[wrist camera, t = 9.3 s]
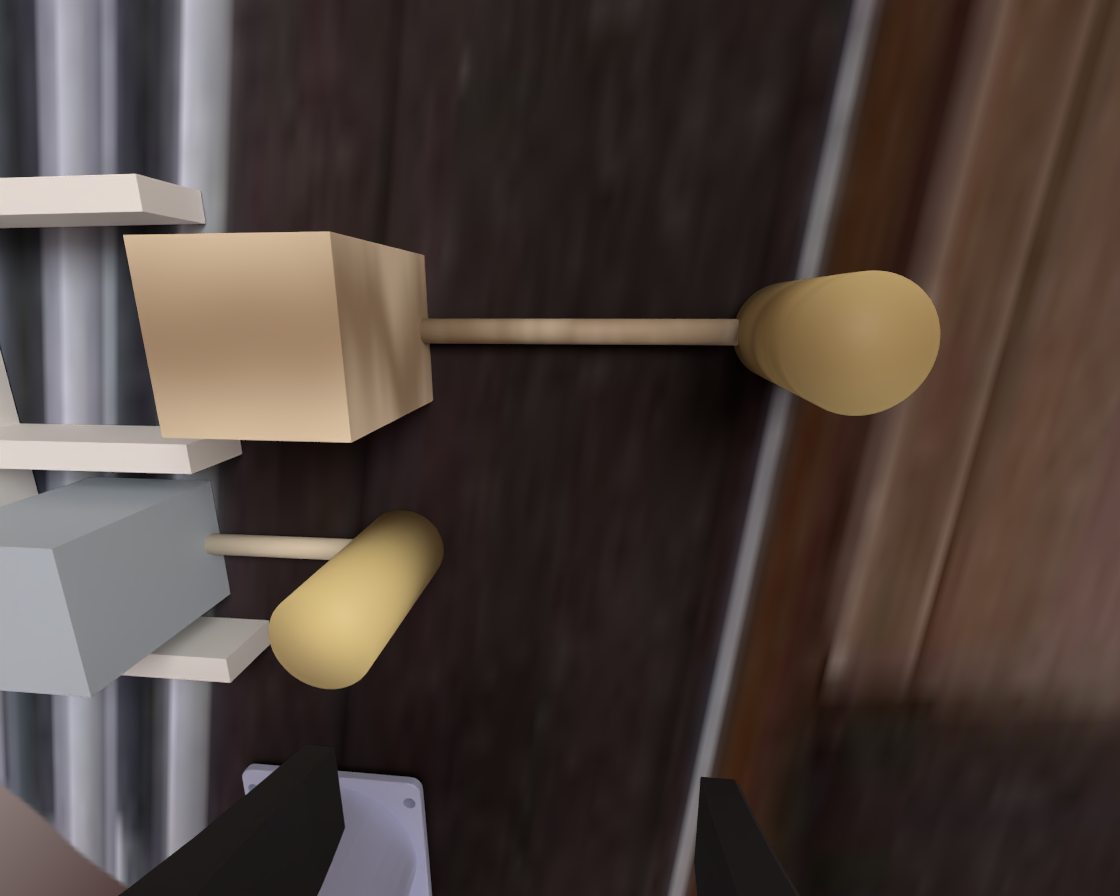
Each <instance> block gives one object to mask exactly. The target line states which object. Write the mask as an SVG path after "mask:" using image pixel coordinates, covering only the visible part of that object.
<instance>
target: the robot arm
mask: <svg viewBox="0 0 1120 896" xmlns="http://www.w3.org/2000/svg"><path fill="white" fill-rule="evenodd" d="M242 779H243V785H244V790H245V796H244V797H243V798H241V799H240V800H239V801H238V802H237V803H235V804H234V805H233V806H232V807H231V808H229V809H228V810H227V811H226V812H225V813H223V814H222V815H221V816H220V817H218V818H217V819H216V820H215V821H214V822H212V823H211V824H210V825H209V826H208V827H206V828H205V829H204V830H203V831H202V832H200V833H199V834H198V835H197V836H195V837H194V838H193V839H192V840H190V841H189V842H188V843H186V844H185V845H184V846H183V847H181V848H180V849H179V850H177V851H176V852H175V853H174V854H172V855H171V856H170V857H168V858H167V859H166V860H165V861H163V862H162V863H161V864H159V865H158V866H157V867H155V868H154V869H153V870H152V871H150V872H149V873H148V874H146V875H145V876H144V877H143V878H141V879H140V880H139V881H137V882H136V883H135V884H134V885H132V886H131V887H130V888H128V889H127V890H125V891H124V892H123V893H121V894H120V895H119V896H432V888H431V876H430V865H429V853H428V841H427V830H426V818H425V806H424V795H423V786H422V784H421V783H420V781H419V780H417V779H416V778H412V777H403V776H392V775H380V774H369V773H357V772H346V771H338V770H337V762H336V755H335V747H331V746H318V745H305V746H303V747H302V748H301V749H300V750H298V751H297V752H296V753H295V754H294V755H292V756H291V757H290V758H289V759H288V760H286V761H285V762H284V763H283V764H282V765H280V766H277V765H265V764H251V765H249V766H248V767H247V769H246V770H245V771H244V773H243V774H242ZM409 798H410V799H409ZM411 799H412V800H411ZM694 864H695V874H696V885H697V895H698V896H800V895H799V894H798V892H797V890H796V889H795V887H794V885H793V884H792V882H791V881H790V879H789V877H788V876H787V874H786V872H785V870H784V869H783V867H782V865H781V863H780V862H779V860H778V858H777V856H776V855H775V853H774V851H773V849H772V847H771V846H770V844H769V842H768V840H767V838H766V837H765V835H764V833H763V831H762V829H761V827H760V825H759V823H758V822H757V820H756V818H755V816H754V814H753V812H752V810H751V808H750V806H749V804H748V802H747V800H746V798H745V796H744V794H743V791H742V789H741V787H740V785H739V784H738V783H737V782H736V781H735V780H732V779H720V778H708V777H701V780H700V794H699V807H698V820H697V833H696V846H695V860H694Z"/></svg>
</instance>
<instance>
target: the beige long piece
mask: <svg viewBox="0 0 1120 896" xmlns="http://www.w3.org/2000/svg"><path fill="white" fill-rule="evenodd" d="M123 238H124V243H125V248H126V253H127V258H128V263H129V269H130V274H131V279H132V284H133V289H134V294H135V300H136V305H137V310H138V315H139V320H140V325H141V331H142V336H143V341H144V346H145V351H146V356H147V362H148V367H149V372H150V377H151V382H152V387H153V393H154V398H155V403H156V408H157V413H158V418H159V424H160V429H161V434H162V438H191V439H229V440H267V441H306V442H344V443H352V442H354V441H356V440H358V439H359V438H361V437H363V436H365V435H367V434H369V433H371V432H373V431H375V430H377V429H379V428H381V427H383V426H385V425H387V424H389V423H391V422H393V421H395V420H396V419H398V418H400V417H402V416H404V415H406V414H408V413H410V412H412V411H414V410H416V409H418V408H420V407H422V406H424V405H426V404H428V403H430V402H431V401H433V392H432V376H431V359H430V343H442V344H599V345H734V348H735V351H736V354H737V356H738V358H739V359H740V361H741V362H742V363H743V365H744V366H745V367H746V368H748V369H749V370H750V371H752V372H753V373H755V374H757V375H759V376H761V377H763V378H765V379H767V380H769V381H770V382H772V383H774V384H776V385H778V386H780V387H782V388H784V389H786V390H788V391H790V392H792V393H794V394H796V395H798V396H800V397H802V398H804V399H806V400H808V401H810V402H812V403H814V404H815V405H817V406H819V407H821V408H823V409H825V410H828V411H830V412H833V413H837V414H842V415H851V416H859V415H868V414H873V413H877V412H880V411H883V410H886V409H888V408H891V407H893V406H894V405H896V404H898V403H900V402H901V401H903V400H904V399H906V398H907V397H908V396H910V395H911V394H912V393H913V392H914V391H915V390H916V389H917V388H918V387H919V386H920V385H921V384H922V382H923V381H924V380H925V378H926V377H927V375H928V374H929V372H930V370H931V368H932V366H933V365H934V362H935V359H936V357H937V353H938V349H939V344H940V324H939V319H938V315H937V312H936V309H935V307H934V305H933V303H932V301H931V300H930V298H929V297H928V296H927V294H926V293H925V292H924V291H923V290H922V289H921V288H920V287H919V286H918V285H916V284H915V283H914V282H912V281H911V280H909V279H907V278H905V277H903V276H901V275H898V274H895V273H891V272H886V271H874V270H873V271H861V272H854V273H847V274H839V275H832V276H825V277H818V278H810V279H803V280H796V281H788V282H781V283H776V284H772V285H769V286H766V287H764V288H762V289H760V290H759V291H757V292H755V293H754V294H753V295H752V296H750V297H749V298H748V299H747V301H746V302H745V303H744V304H743V305H742V307H741V308H740V310H739V312H738V314H737V316H736V319H428V311H427V294H426V278H425V262H424V255H421V254H417V253H413V252H409V251H405V250H401V249H397V248H393V247H389V246H385V245H381V244H377V243H373V242H369V241H365V240H361V239H357V238H353V237H349V236H345V235H341V234H337V233H333V232H274V233H211V234H147V235H123Z"/></svg>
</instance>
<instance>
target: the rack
mask: <svg viewBox="0 0 1120 896" xmlns="http://www.w3.org/2000/svg"><path fill="white" fill-rule="evenodd" d="M170 224H206V223H205V217H204V211H203V204H202V198H201V192H200V191H198V190H194V189H190V188H186V187H183V186H179V185H175V184H172V183H168V182H164V181H161V180H157V179H153V178H149V177H146V176H142V175H138V174H113V175H82V176H51V177H20V178H0V228H31V227H78V226H124V225H170ZM241 454H242V449H241V442H240V440H229V439H191V438H162V434H161V429H160V426H123V425H72V424H21V423H19V419H18V415H17V411H16V408H15V404H14V400H13V396H12V392H11V389H10V385H9V381H8V377H7V374H6V370H5V366H4V362H3V358H2V355H1V351H0V507H1V506H5V505H8V504H11V503H14V502H17V501H20V500H23V499H26V498H29V497H32V496H35V495H38V491H37V487H36V483H35V480H34V476H33V472H32V469H33V470H68V471H102V472H136V473H170V474H193V473H196V472H198V471H201V470H203V469H206V468H208V467H211V466H213V465H216V464H218V463H221V462H223V461H226V460H228V459H231V458H233V457H236V456H238V455H241ZM269 645H270V640H269V620H253V619H236V618H219V617H201V616H200V617H199V618H197V619H196V620H195V621H193V622H192V623H191V624H189V625H188V626H187V627H185V628H184V629H183V630H181V631H180V632H179V633H177V634H176V635H175V636H173V637H172V638H170V639H169V640H168V641H166V642H165V643H164V644H162V645H161V646H160V647H158V648H157V649H156V650H154V651H153V652H152V653H150V654H149V655H148V656H146V657H145V658H144V659H142V660H141V661H140V662H138V663H137V664H135V665H134V666H133V667H131V668H130V669H129V670H127V671H126V672H125V673H123V674H122V675H127V676H141V677H155V678H169V679H183V680H197V681H212V682H226V683H231V682H232V681H233V680H234V679H235V678H236V677H237V676H238V675H239V674H240V673H241V672H242V671H243V670H244V669H245V668H246V667H247V666H248V665H249V664H250V663H251V662H252V661H253V660H254V659H255V658H256V657H257V656H259V655H260V654H261V653H262V652H263V651H264V650H265V649H266V648H267V647H268V646H269Z"/></svg>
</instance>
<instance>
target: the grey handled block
mask: <svg viewBox="0 0 1120 896" xmlns="http://www.w3.org/2000/svg"><path fill="white" fill-rule="evenodd" d="M224 555H234V556H255V557H277V558H298V559H320V560H329V561H328V562H327V563H326V564H325V565H324V566H322V567H321V568H320V569H319V570H318V571H317V572H316V573H315V574H313V575H312V576H311V577H310V578H309V579H308V580H307V581H305V582H304V583H303V584H302V585H301V586H300V587H299V588H297V589H296V590H295V591H294V592H293V593H292V594H291V595H290V596H288V597H287V598H286V599H285V600H284V601H283V602H282V603H280V604H279V605H278V607H277V608H276V609H275V611H274V612H273V614H272V617H271V619H270V623H269V640H270V644H271V647H272V650H273V652H274V654H275V656H276V658H277V659H278V661H279V662H280V663H281V665H282V666H283V667H284V668H285V669H286V670H287V671H288V672H289V673H290V674H291V675H293V676H294V677H295V678H297V679H299V680H300V681H302V682H304V683H306V684H309V685H311V686H314V687H318V688H324V689H339V688H344V687H347V686H350V685H352V684H354V683H356V682H358V681H359V680H360V679H361V678H363V677H364V675H365V674H366V673H367V672H368V670H369V669H370V667H371V666H372V664H373V663H374V662H375V660H376V659H377V657H378V656H379V654H380V653H381V651H382V650H383V648H384V647H385V646H386V644H387V643H388V641H389V640H390V638H391V637H392V635H393V634H394V632H395V631H396V630H397V628H398V627H399V625H400V624H401V622H402V621H403V619H404V618H405V616H406V615H407V614H408V612H409V611H410V609H411V608H412V606H413V605H414V603H415V602H416V600H417V599H418V598H419V596H420V595H421V593H422V592H423V590H424V589H425V587H426V586H427V584H428V583H429V582H430V580H431V579H432V577H433V576H434V574H435V573H436V571H437V570H438V568H439V567H440V565H441V563H442V560H443V555H444V547H443V542H442V538H441V536H440V534H439V532H438V530H437V529H436V527H435V526H434V525H433V524H432V523H431V522H430V521H429V520H428V519H427V518H425V517H423V516H422V515H420V514H418V513H415V512H413V511H408V510H393V511H389V512H386V513H384V514H382V515H381V516H379V517H378V518H377V519H376V520H375V521H374V522H372V523H371V524H370V525H369V526H368V527H367V528H366V529H364V530H363V531H362V532H361V533H360V534H359V535H358V536H357V537H355V538H354V539H337V538H313V537H289V536H266V535H242V534H220V532H219V527H218V521H217V516H216V510H215V504H214V499H213V493H212V487H211V482H210V481H202V480H170V479H138V478H106V477H90V478H87V479H84V480H81V481H78V482H75V483H72V484H69V485H66V486H63V487H60V488H57V489H53V490H50V491H47V492H44V493H41V494H38V495H35V496H32V497H29V498H26V499H23V500H20V501H17V502H14V503H11V504H8V505H5V506H1V507H0V690H3V691H16V692H29V693H41V694H54V695H67V696H80V697H92V696H94V695H95V694H96V693H98V692H99V691H100V690H102V689H103V688H105V687H106V686H107V685H109V684H110V683H111V682H113V681H114V680H115V679H117V678H118V677H119V676H121V675H122V674H123V673H125V672H126V671H127V670H129V669H130V668H131V667H133V666H134V665H135V664H137V663H138V662H140V661H141V660H142V659H144V658H145V657H146V656H148V655H149V654H150V653H152V652H153V651H154V650H156V649H157V648H158V647H160V646H161V645H162V644H164V643H165V642H166V641H168V640H169V639H170V638H172V637H173V636H175V635H176V634H177V633H179V632H180V631H181V630H183V629H184V628H185V627H187V626H188V625H189V624H191V623H192V622H193V621H195V620H196V619H197V618H199V617H200V616H201V615H203V614H204V613H205V612H207V611H208V610H209V609H211V608H212V607H214V606H215V605H216V604H218V603H219V602H220V601H222V600H223V599H224V598H226V597H227V596H228V595H230V589H229V583H228V577H227V572H226V566H225V561H224Z"/></svg>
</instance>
